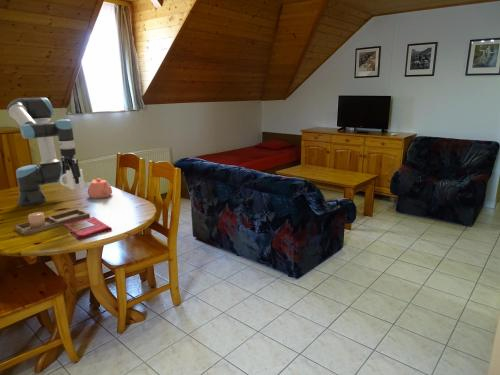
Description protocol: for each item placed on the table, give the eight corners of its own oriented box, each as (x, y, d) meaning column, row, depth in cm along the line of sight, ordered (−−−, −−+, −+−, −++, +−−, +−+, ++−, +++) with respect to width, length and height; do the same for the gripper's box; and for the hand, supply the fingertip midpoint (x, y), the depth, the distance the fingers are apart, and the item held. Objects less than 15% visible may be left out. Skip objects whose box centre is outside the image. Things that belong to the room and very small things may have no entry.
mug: (62, 191, 199) (59, 173, 196) (60, 188, 206) (57, 170, 203) (85, 188, 205) (83, 170, 202) (83, 185, 212) (80, 168, 209)
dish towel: (78, 241, 175) (78, 236, 174) (62, 227, 191) (61, 222, 190) (113, 231, 186) (112, 226, 185) (95, 219, 202) (94, 214, 202)
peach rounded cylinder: (28, 227, 187) (25, 214, 185) (42, 223, 192) (40, 211, 190) (33, 230, 183) (31, 217, 181) (48, 226, 188) (46, 214, 186)
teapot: (119, 197, 239) (117, 179, 236) (97, 202, 229) (94, 184, 226) (104, 191, 254) (102, 174, 251) (82, 195, 244) (80, 178, 240)
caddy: (15, 230, 185) (14, 225, 185) (78, 213, 210) (77, 208, 209) (25, 237, 178) (24, 231, 177) (90, 218, 202) (89, 213, 201)
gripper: (51, 147, 202) (57, 186, 208) (70, 150, 190) (76, 192, 196) (64, 145, 208) (70, 183, 214) (84, 148, 195) (89, 189, 202)
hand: (73, 187), depth 205 cm, fingers closed on mug, 8 cm apart
